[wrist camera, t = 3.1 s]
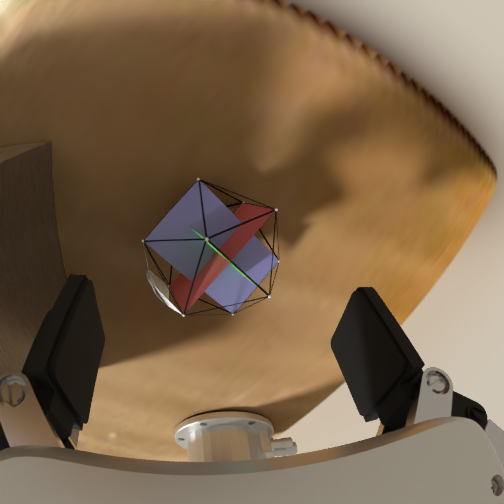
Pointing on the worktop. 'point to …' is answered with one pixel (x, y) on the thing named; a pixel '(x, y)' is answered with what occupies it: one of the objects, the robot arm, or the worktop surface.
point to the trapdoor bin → (27, 251)
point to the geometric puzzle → (211, 250)
